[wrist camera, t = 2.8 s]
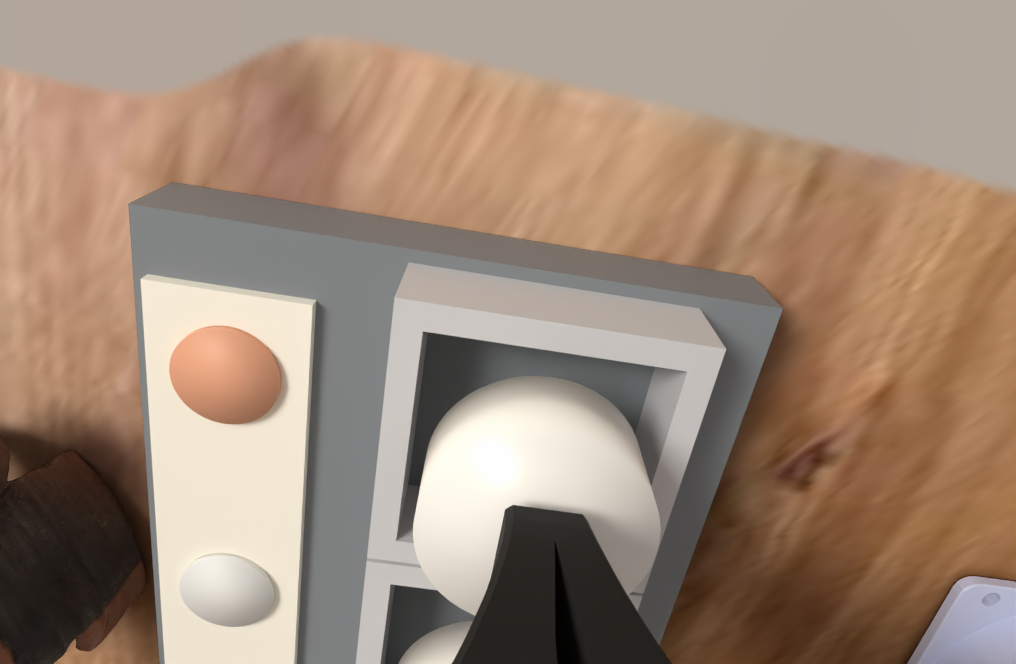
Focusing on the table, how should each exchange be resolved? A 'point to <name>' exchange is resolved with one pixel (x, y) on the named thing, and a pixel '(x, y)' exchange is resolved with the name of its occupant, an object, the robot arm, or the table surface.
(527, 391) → the button
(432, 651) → the button middle
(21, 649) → the brown broken pot
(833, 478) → the table surface
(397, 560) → the button board
